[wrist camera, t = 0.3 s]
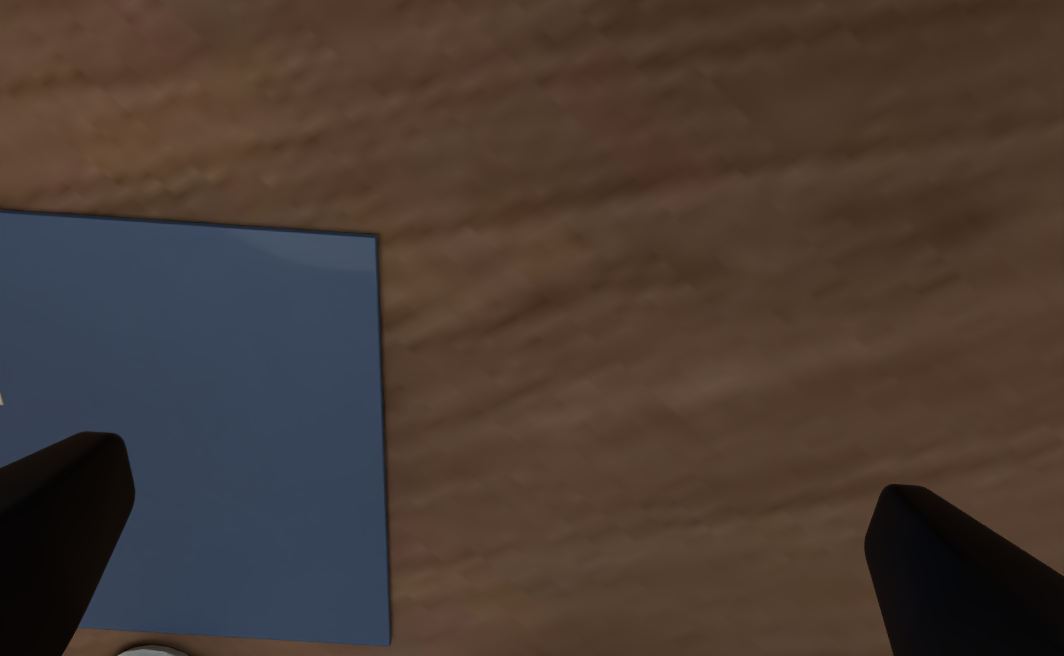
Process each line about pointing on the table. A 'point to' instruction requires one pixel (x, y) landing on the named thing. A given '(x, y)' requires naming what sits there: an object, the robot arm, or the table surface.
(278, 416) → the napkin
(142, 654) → the rook chess piece
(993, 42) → the table surface
